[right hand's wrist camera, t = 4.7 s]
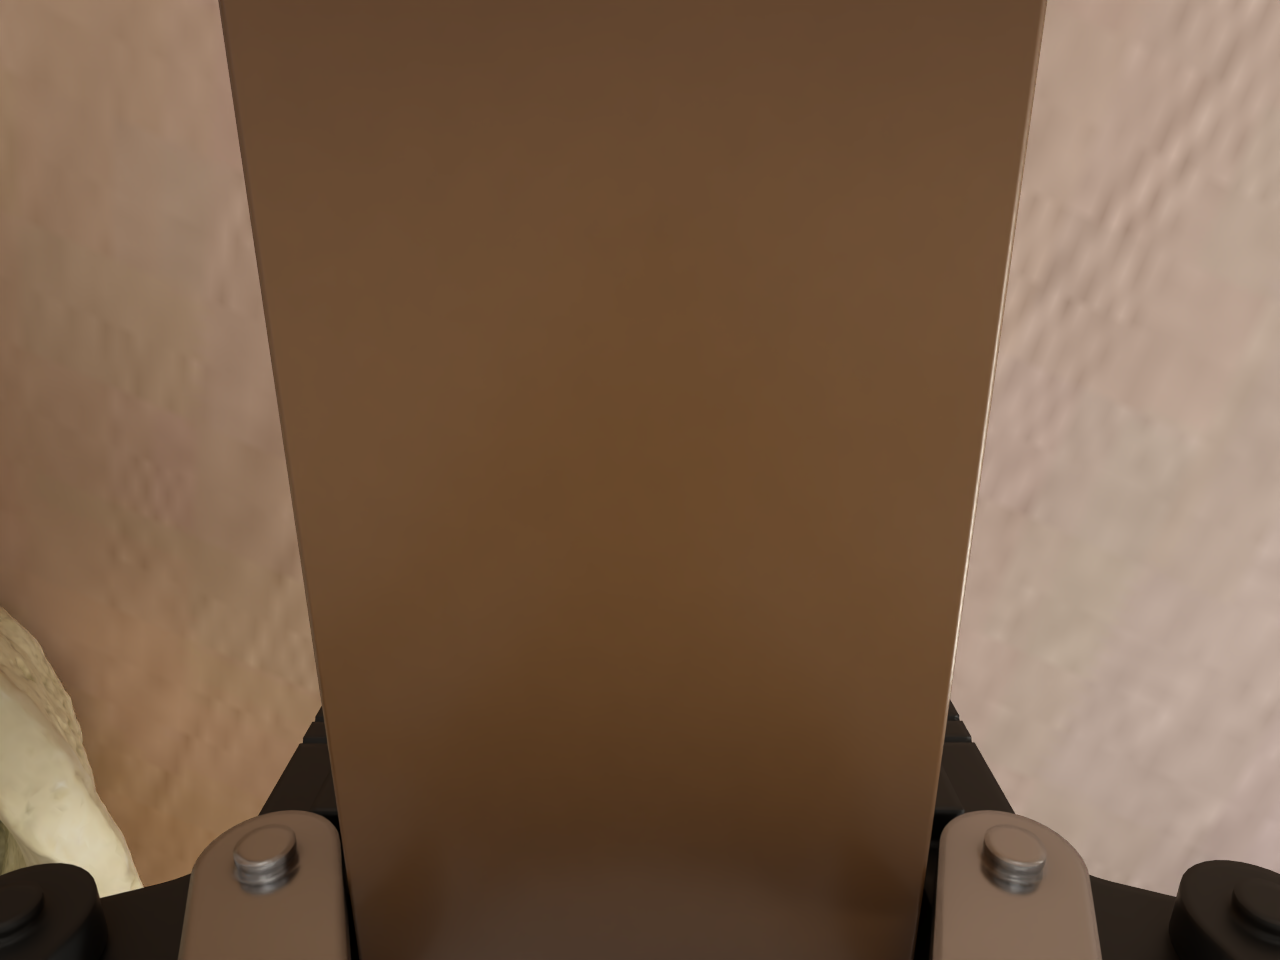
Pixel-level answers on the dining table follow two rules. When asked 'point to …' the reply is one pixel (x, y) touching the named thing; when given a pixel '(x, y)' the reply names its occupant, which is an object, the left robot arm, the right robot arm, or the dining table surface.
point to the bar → (634, 448)
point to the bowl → (50, 774)
